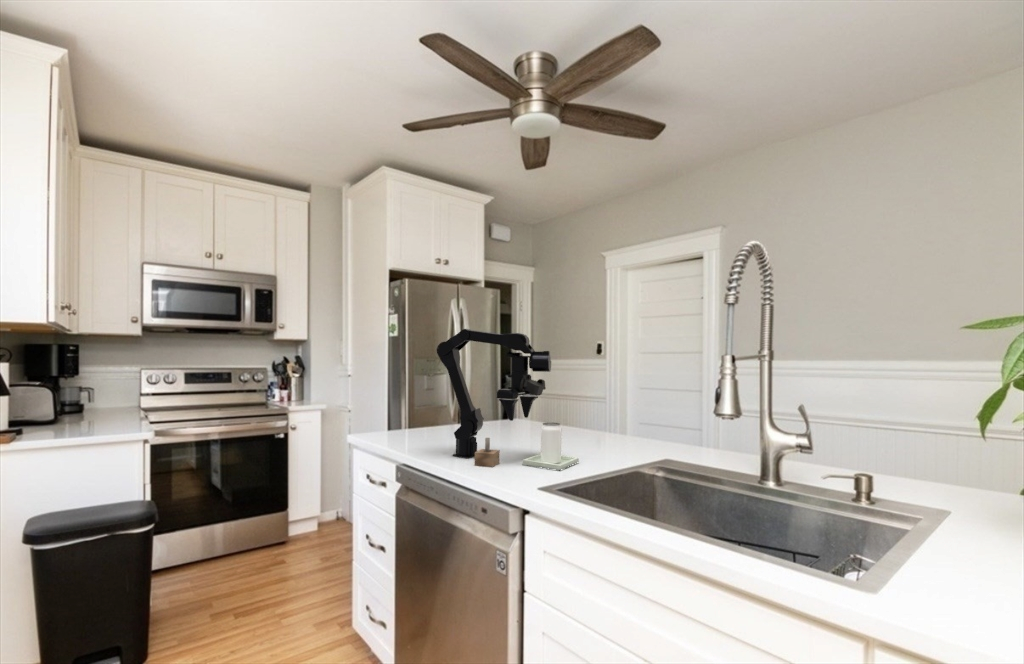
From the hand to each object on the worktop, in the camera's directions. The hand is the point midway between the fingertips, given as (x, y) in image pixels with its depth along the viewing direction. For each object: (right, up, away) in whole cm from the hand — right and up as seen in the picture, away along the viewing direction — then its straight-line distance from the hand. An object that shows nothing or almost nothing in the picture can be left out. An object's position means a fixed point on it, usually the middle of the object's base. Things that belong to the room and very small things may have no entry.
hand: (518, 419), depth 160 cm
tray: (+10, -13, -7) cm, 18 cm away
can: (+10, -13, -7) cm, 17 cm away
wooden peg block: (-10, -13, -9) cm, 18 cm away
